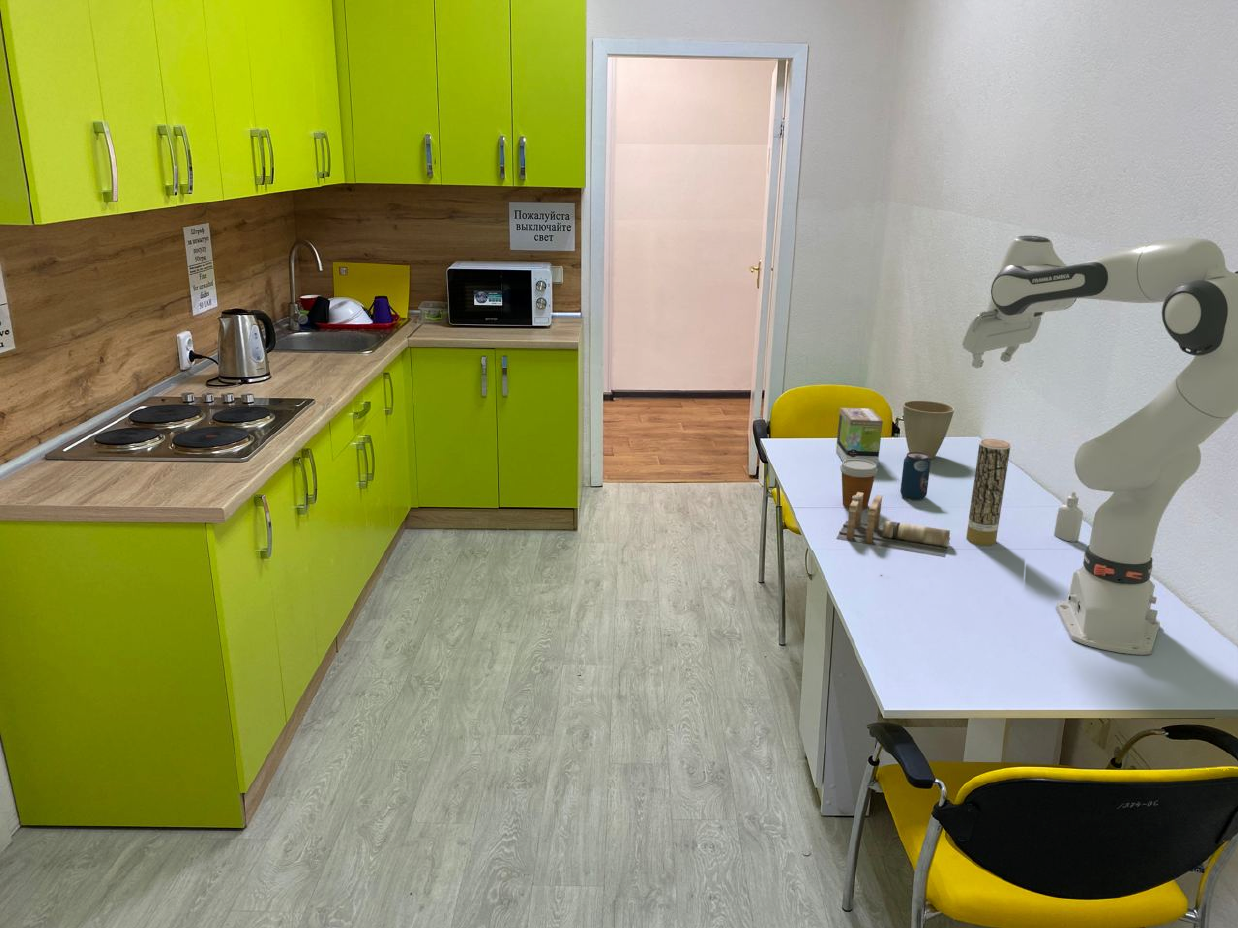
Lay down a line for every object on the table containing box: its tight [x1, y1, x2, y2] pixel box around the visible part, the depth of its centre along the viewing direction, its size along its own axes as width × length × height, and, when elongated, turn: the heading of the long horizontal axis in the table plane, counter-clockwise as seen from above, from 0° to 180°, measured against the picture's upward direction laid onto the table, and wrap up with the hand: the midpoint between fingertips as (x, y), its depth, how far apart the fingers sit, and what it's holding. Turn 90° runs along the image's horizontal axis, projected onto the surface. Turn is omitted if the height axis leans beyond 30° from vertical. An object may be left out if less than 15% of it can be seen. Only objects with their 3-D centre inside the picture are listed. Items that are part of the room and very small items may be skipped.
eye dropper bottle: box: [1053, 491, 1084, 543], centre depth 232 cm, size 4×6×12 cm
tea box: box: [835, 407, 884, 468], centre depth 289 cm, size 15×10×15 cm, turn 179°
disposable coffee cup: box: [839, 459, 878, 510], centre depth 250 cm, size 10×10×12 cm
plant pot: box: [902, 400, 955, 460], centre depth 293 cm, size 15×15×16 cm
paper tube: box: [965, 438, 1011, 547], centre depth 227 cm, size 7×7×25 cm
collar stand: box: [835, 492, 951, 558], centre depth 229 cm, size 13×25×10 cm, turn 67°
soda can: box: [899, 452, 931, 501], centre depth 258 cm, size 7×7×12 cm
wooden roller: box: [882, 520, 951, 548], centre depth 228 cm, size 15×4×4 cm, turn 67°
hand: (990, 363), depth 217 cm, fingers open, 8 cm apart
